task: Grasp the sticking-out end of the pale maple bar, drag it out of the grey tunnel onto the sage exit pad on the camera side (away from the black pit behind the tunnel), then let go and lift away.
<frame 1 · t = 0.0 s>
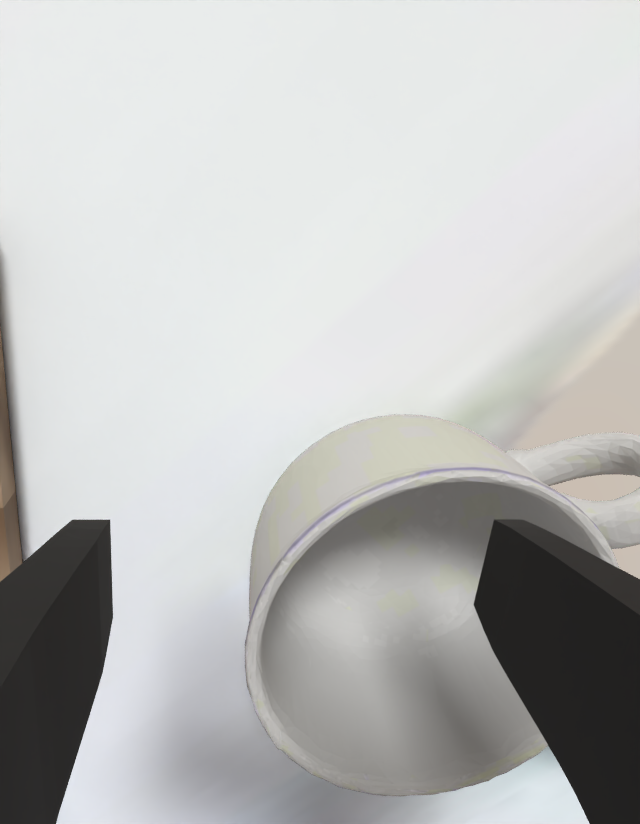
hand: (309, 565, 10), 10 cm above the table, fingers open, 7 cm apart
teacup: (406, 490, 22), on the table
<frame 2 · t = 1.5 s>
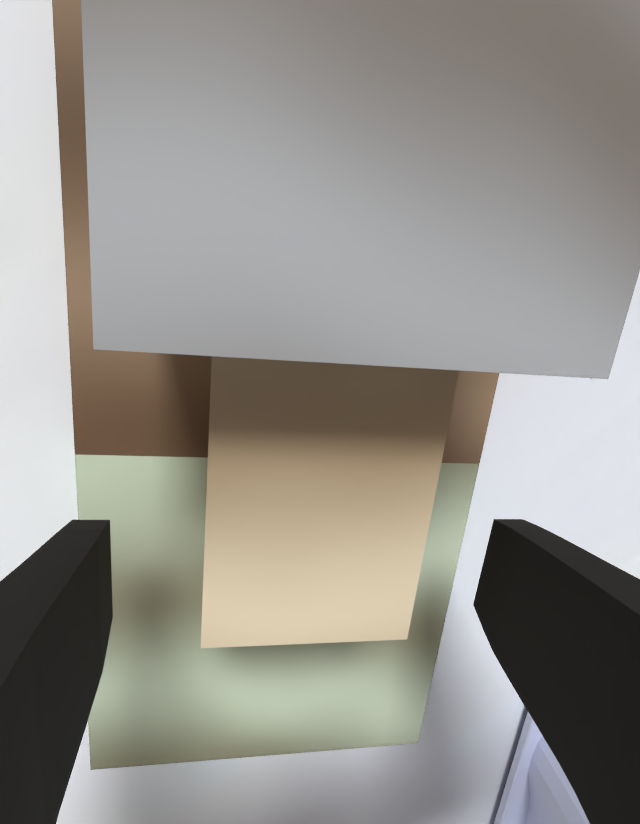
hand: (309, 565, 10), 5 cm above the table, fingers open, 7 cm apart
maple bar: (300, 361, 13), point 1 cm above the table, touching tunnel deck
tunnel deck: (305, 223, 13), on the table
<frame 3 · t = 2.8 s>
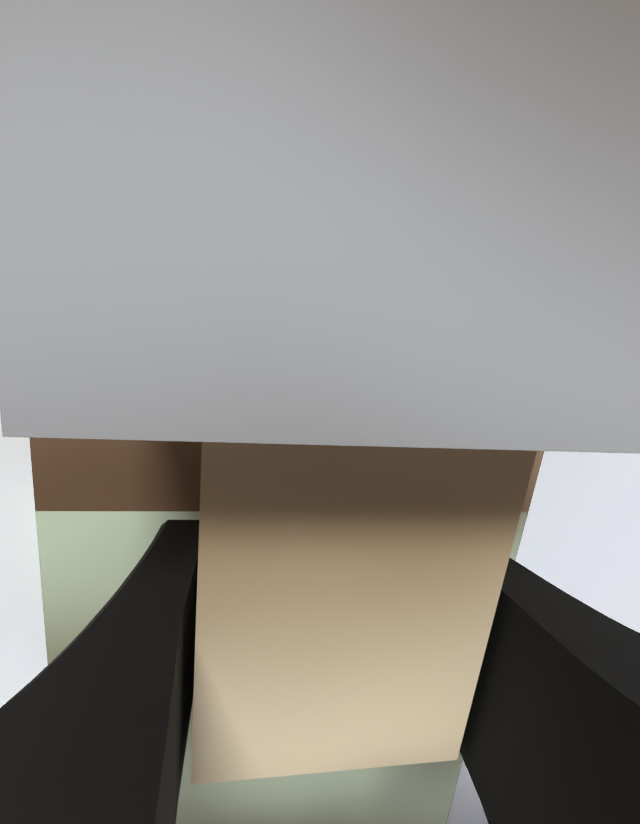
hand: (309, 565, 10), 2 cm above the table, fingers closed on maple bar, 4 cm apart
maple bar: (316, 394, 10), point 1 cm above the table, touching gripper, tunnel deck
tunnel deck: (321, 222, 10), on the table
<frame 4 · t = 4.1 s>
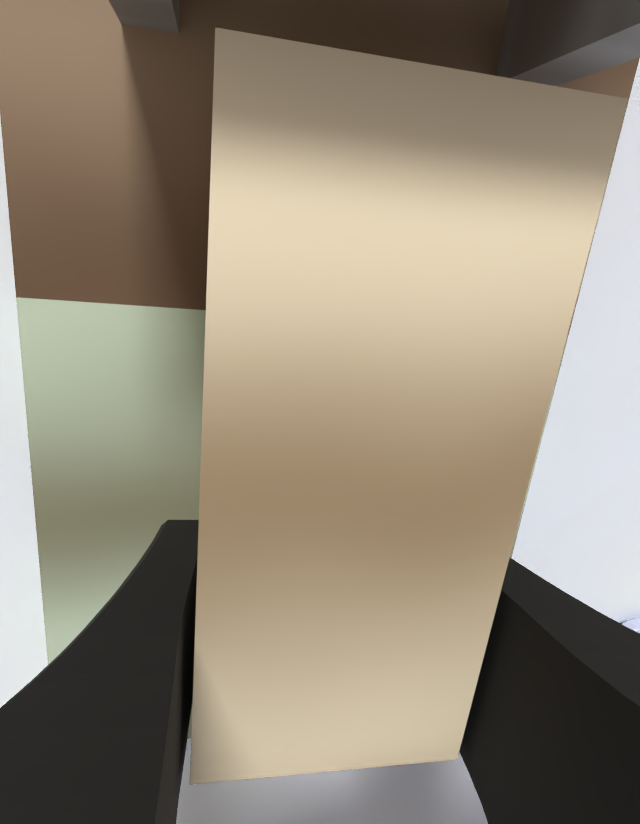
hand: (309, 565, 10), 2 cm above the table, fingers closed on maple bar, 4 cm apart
maple bar: (316, 393, 10), point 1 cm above the table, touching gripper
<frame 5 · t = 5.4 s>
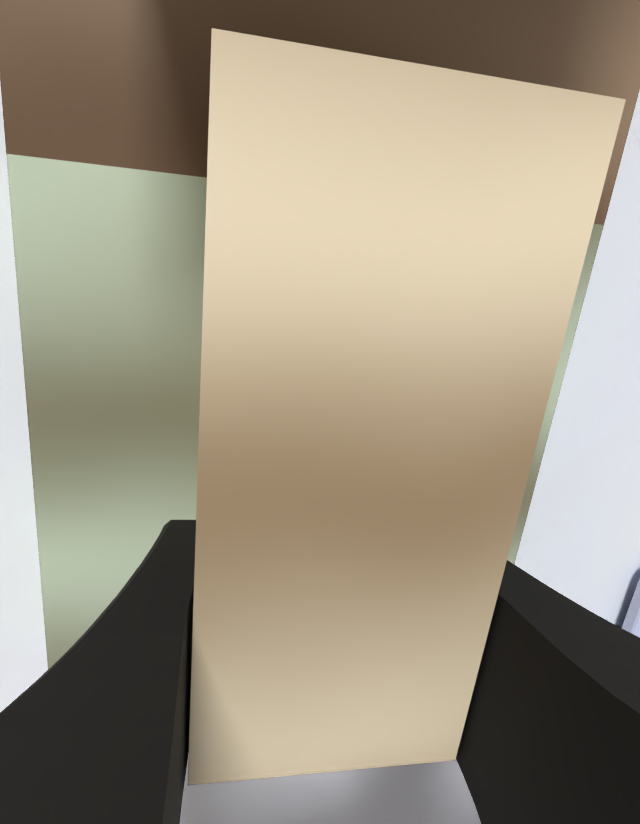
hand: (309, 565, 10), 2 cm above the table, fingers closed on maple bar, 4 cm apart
maple bar: (314, 393, 10), point 1 cm above the table, touching gripper
when the fingers open (2 cm above the table, at t = 5.7 s): maple bar stays where it is, resting on tunnel deck.
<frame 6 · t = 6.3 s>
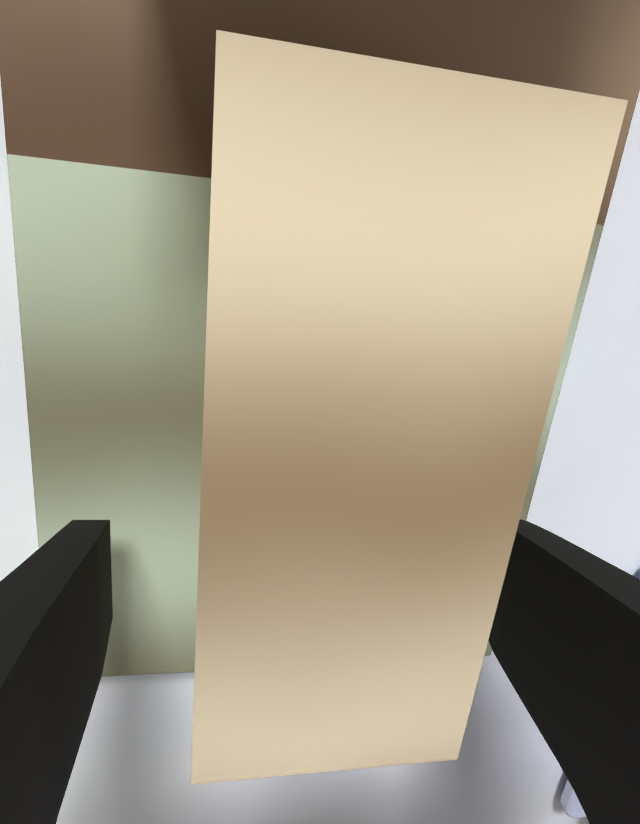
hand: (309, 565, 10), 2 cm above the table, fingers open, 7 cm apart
maple bar: (316, 393, 10), point 1 cm above the table, touching tunnel deck
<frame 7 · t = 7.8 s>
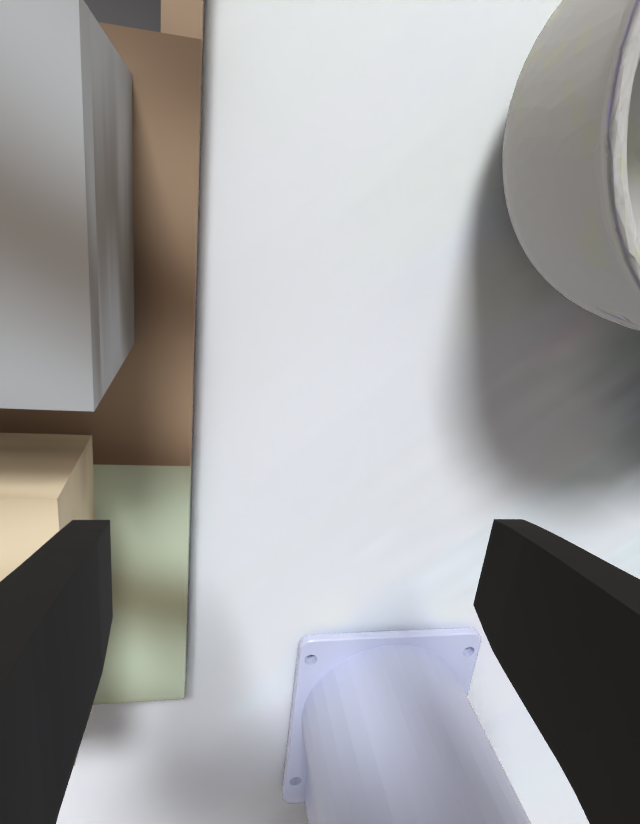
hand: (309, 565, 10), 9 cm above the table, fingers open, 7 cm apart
maple bar: (32, 558, 18), point 1 cm above the table, touching tunnel deck
tunnel deck: (23, 277, 16), on the table
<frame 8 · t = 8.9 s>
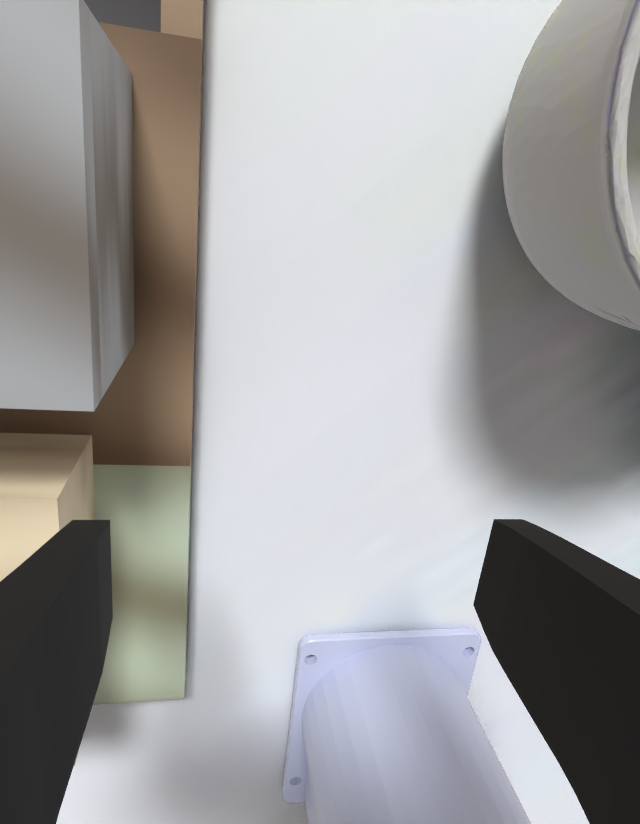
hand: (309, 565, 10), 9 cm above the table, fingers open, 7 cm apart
maple bar: (32, 558, 18), point 1 cm above the table, touching tunnel deck
tunnel deck: (23, 277, 16), on the table
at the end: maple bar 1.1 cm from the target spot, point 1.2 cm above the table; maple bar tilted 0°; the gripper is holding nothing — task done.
